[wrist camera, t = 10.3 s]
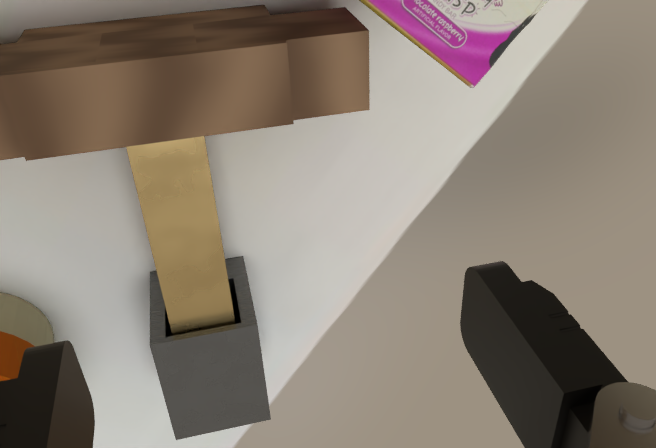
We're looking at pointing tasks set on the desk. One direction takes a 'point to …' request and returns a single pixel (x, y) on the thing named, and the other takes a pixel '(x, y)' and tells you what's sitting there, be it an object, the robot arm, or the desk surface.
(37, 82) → the walnut block
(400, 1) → the candy bar box
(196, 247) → the brass bar
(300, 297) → the desk surface
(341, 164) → the desk surface
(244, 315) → the grey sleeve
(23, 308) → the reusable coffee cup
